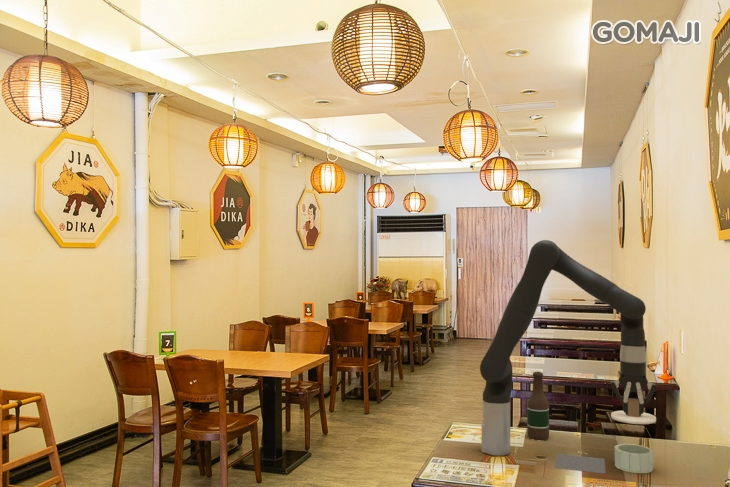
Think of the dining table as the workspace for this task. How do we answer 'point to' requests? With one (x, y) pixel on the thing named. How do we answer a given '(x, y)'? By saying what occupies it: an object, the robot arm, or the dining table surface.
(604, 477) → the dining table surface
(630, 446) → the bowl
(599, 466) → the mat
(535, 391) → the beer bottle
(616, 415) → the lid
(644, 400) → the robot arm
